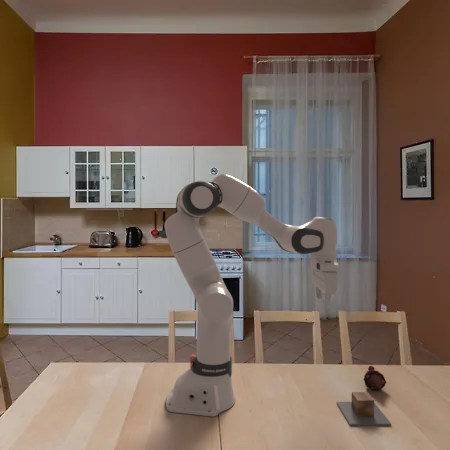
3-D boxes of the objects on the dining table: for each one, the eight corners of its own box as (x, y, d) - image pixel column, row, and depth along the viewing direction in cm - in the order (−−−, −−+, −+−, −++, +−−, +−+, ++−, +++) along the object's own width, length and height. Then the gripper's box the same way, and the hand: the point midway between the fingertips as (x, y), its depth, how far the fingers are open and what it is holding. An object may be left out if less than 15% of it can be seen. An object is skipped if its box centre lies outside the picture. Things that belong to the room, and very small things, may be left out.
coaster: (350, 425, 103) (350, 423, 103) (336, 403, 115) (336, 401, 115) (391, 425, 103) (391, 423, 103) (373, 403, 115) (373, 401, 115)
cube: (357, 416, 107) (357, 400, 107) (351, 407, 112) (351, 392, 112) (374, 416, 107) (374, 400, 107) (367, 407, 112) (367, 391, 112)
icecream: (394, 382, 116) (382, 366, 131) (371, 374, 118) (361, 360, 132) (389, 402, 116) (377, 385, 131) (366, 395, 118) (356, 378, 132)
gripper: (307, 258, 137) (306, 294, 137) (322, 267, 116) (321, 308, 117) (323, 259, 137) (323, 294, 137) (341, 267, 116) (340, 309, 117)
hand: (322, 301), depth 127 cm, fingers open, 8 cm apart
